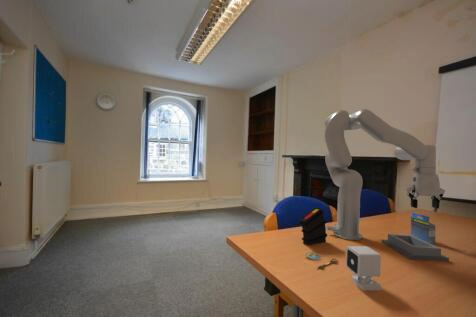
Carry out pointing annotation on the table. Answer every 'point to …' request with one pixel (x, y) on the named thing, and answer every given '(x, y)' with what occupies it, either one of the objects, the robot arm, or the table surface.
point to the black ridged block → (313, 227)
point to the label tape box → (422, 228)
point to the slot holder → (414, 248)
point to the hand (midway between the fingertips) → (424, 207)
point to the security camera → (363, 266)
